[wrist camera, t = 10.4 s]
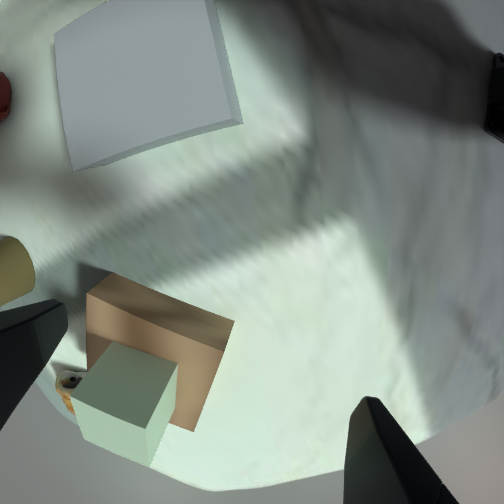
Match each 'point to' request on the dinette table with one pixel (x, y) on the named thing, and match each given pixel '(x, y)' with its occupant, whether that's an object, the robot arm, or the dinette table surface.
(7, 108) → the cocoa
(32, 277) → the cork
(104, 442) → the green cube
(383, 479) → the robot arm
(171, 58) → the grey block
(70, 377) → the pastry
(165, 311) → the walnut block
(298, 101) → the dinette table surface
